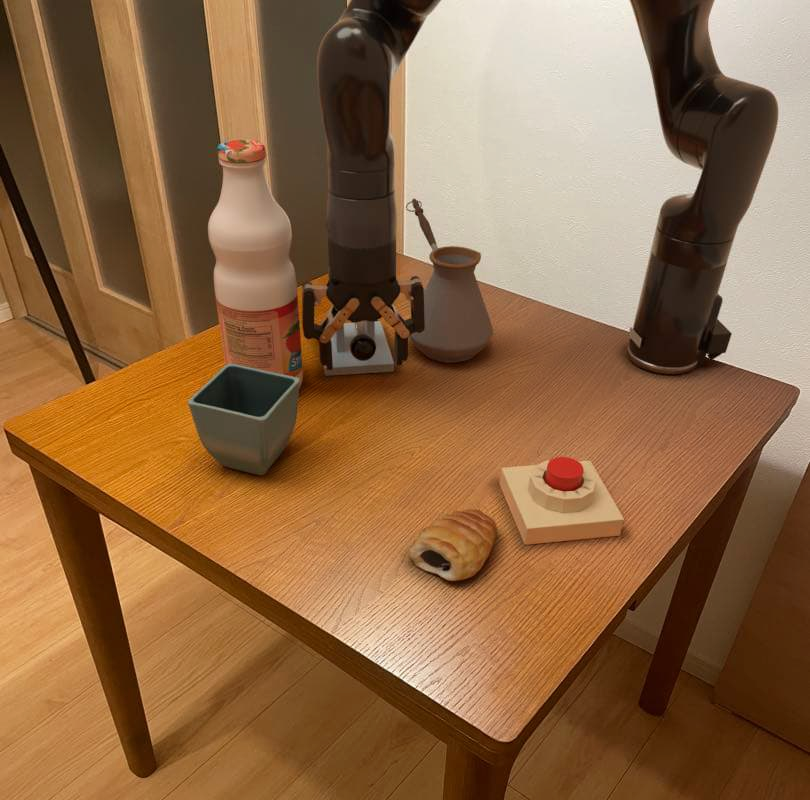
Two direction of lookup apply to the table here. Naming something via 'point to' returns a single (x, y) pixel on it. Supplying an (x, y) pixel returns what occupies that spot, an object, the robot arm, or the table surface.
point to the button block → (559, 506)
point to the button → (564, 474)
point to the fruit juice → (254, 266)
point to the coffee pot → (451, 303)
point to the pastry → (455, 544)
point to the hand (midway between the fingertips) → (364, 364)
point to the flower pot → (246, 416)
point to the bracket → (349, 364)
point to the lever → (362, 343)
